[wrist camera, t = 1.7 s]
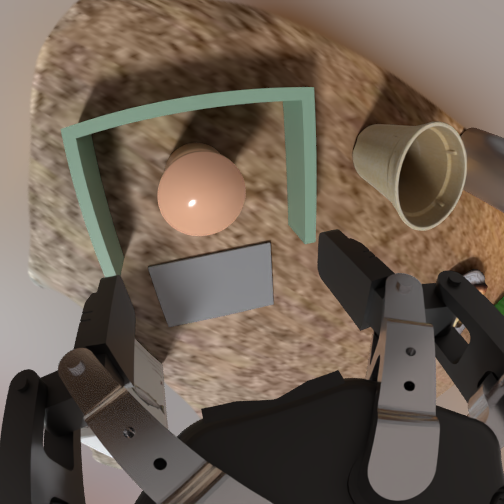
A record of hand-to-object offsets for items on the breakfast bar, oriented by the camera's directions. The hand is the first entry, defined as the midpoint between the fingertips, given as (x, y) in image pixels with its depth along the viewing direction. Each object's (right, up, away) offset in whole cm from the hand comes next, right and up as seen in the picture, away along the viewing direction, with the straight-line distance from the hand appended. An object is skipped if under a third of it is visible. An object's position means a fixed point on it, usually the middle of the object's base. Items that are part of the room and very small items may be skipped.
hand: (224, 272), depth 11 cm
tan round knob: (-4, +7, +12) cm, 15 cm away
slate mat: (-3, -3, +19) cm, 19 cm away
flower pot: (+14, +11, +16) cm, 23 cm away
